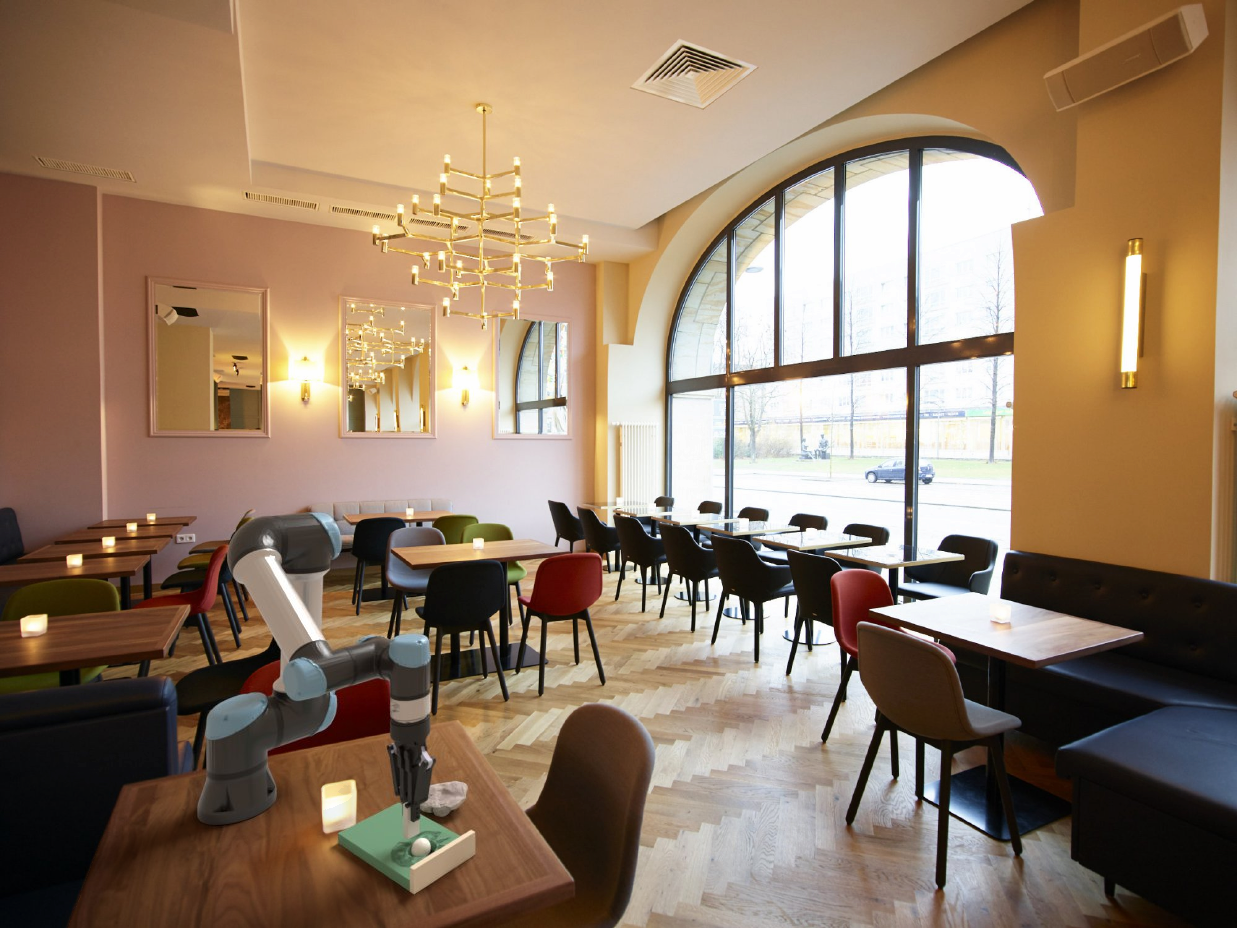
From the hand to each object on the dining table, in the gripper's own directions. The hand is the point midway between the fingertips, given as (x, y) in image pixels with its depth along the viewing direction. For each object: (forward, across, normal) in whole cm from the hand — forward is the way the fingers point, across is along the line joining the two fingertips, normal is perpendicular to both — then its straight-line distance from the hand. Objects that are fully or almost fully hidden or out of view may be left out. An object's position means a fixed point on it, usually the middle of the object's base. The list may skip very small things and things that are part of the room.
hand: (411, 834), depth 124 cm
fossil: (+4, -8, +14) cm, 16 cm away
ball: (+2, +3, 0) cm, 3 cm away
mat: (+3, -2, 0) cm, 4 cm away
